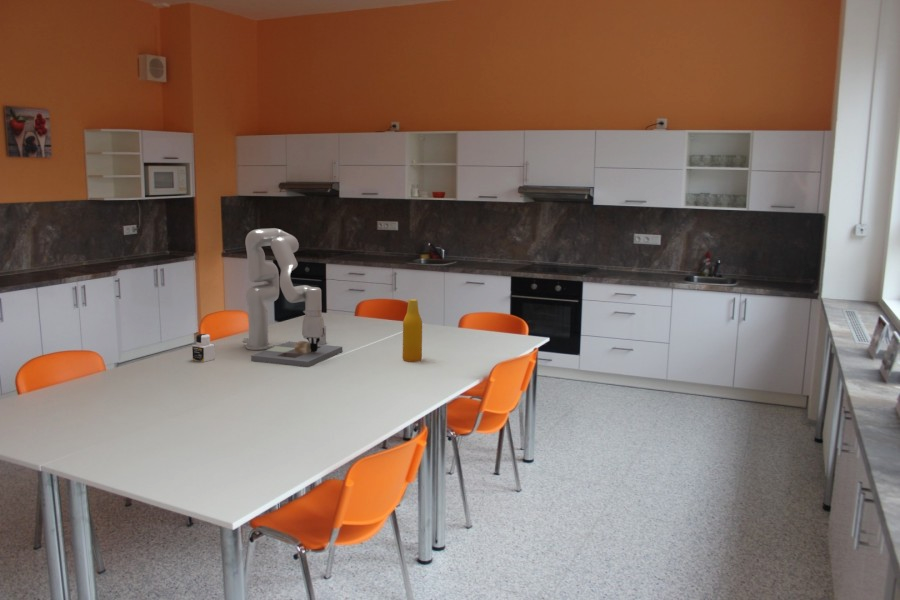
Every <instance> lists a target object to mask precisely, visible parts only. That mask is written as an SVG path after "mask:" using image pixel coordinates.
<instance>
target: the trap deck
mask: <svg viewBox="0 0 900 600" xmlns="http://www.w3.org/2000/svg"><path fill="white" fill-rule="evenodd" d="M297 342H298V341H287V342H286V341H285V343H281V344H279V345H275V346H272V347H271V348H269V349H265V350H261V351H259V352H257V353H255V354H252V355H250V361H252V362H259V363H267V364H268V363H269V364H276V365H284V366H285V365H287V366H293V367H294V366H296V367H303V368H304V367H305V368H309V367H312V366H313V365H317V364H318V363H321V362H323V361H325V360H327V359H330V358H332V357H333V356H336V355H338V354H341V353H342V352H343V346H338V345H327V344H323V345H320V344H318V349H317V351H316V352H309V353H307V354H304V353H295V343H297Z"/></svg>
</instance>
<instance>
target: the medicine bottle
mask: <svg viewBox="0 0 900 600" xmlns="http://www.w3.org/2000/svg"><path fill="white" fill-rule="evenodd" d="M195 338H196V339H195V340H196V344H192V345H191V346H192V347H191V348H192V360H193V361H194V362H202V363H207V362H209V361H213V360H215V359H216V354H215V352H216V350H215V344H213V343H211V335H210V334H208V333H200V334H198V335H196V337H195Z"/></svg>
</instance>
